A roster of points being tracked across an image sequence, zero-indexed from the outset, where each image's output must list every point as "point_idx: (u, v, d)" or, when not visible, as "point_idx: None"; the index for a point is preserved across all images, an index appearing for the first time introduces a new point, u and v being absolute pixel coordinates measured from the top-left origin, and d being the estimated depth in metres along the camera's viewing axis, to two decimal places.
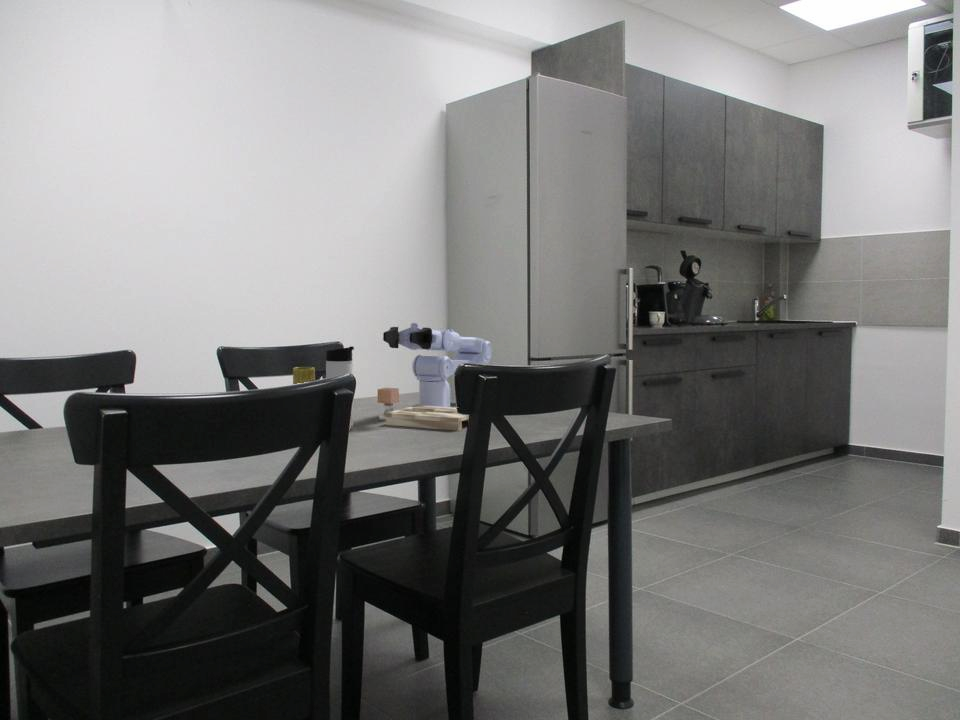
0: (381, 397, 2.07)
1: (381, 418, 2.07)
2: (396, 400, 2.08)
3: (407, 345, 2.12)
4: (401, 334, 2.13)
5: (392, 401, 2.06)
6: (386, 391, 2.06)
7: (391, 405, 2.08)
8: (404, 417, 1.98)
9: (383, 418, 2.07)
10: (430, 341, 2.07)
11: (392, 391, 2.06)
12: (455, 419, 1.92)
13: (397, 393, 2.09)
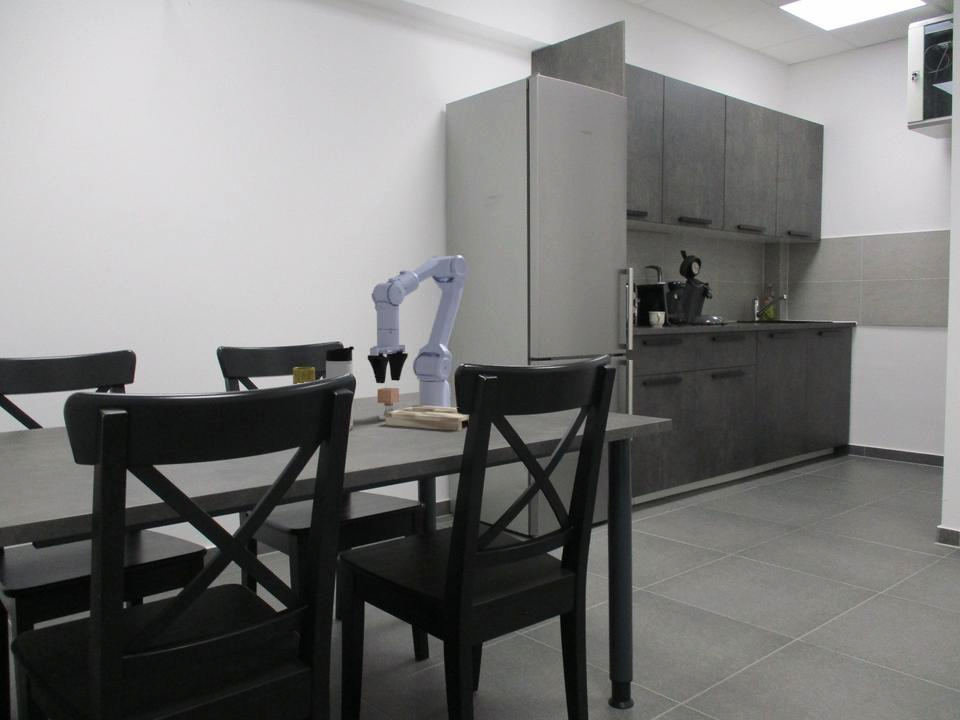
0: (381, 397, 2.07)
1: (381, 418, 2.07)
2: (396, 400, 2.08)
3: None
4: None
5: (392, 401, 2.06)
6: (386, 391, 2.06)
7: (391, 405, 2.08)
8: (404, 417, 1.98)
9: (383, 418, 2.07)
10: (378, 357, 2.02)
11: (392, 391, 2.06)
12: (455, 419, 1.92)
13: (397, 393, 2.09)
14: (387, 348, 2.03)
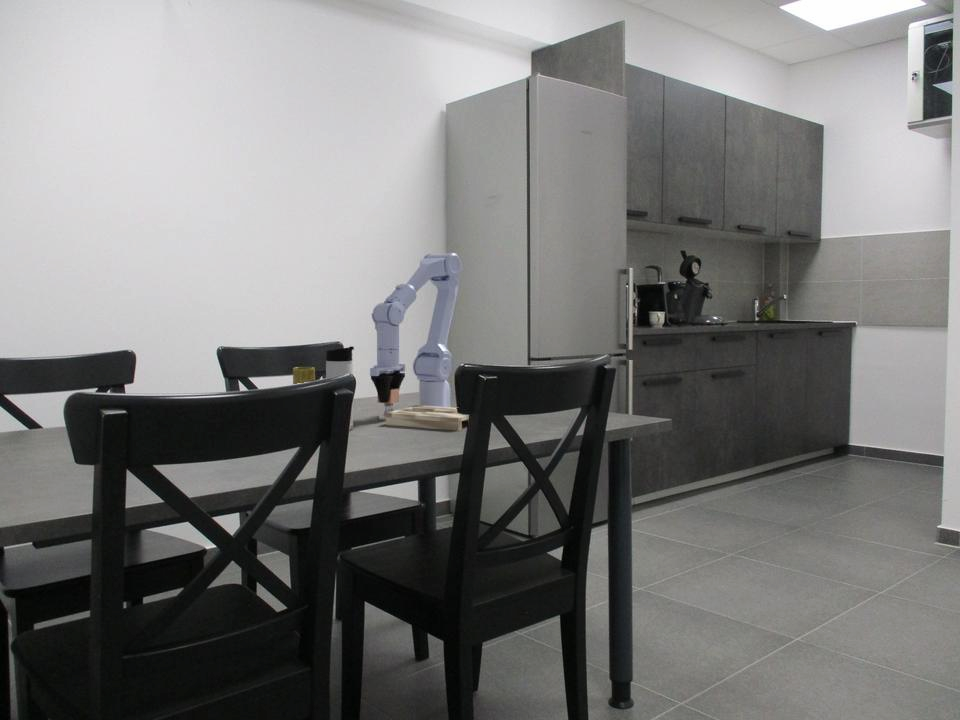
0: None
1: (381, 418, 2.07)
2: (396, 400, 2.08)
3: None
4: None
5: (392, 401, 2.06)
6: None
7: (391, 405, 2.08)
8: (404, 417, 1.98)
9: (383, 418, 2.07)
10: (381, 377, 2.03)
11: (392, 391, 2.06)
12: (455, 419, 1.92)
13: (397, 393, 2.09)
14: (387, 368, 2.04)
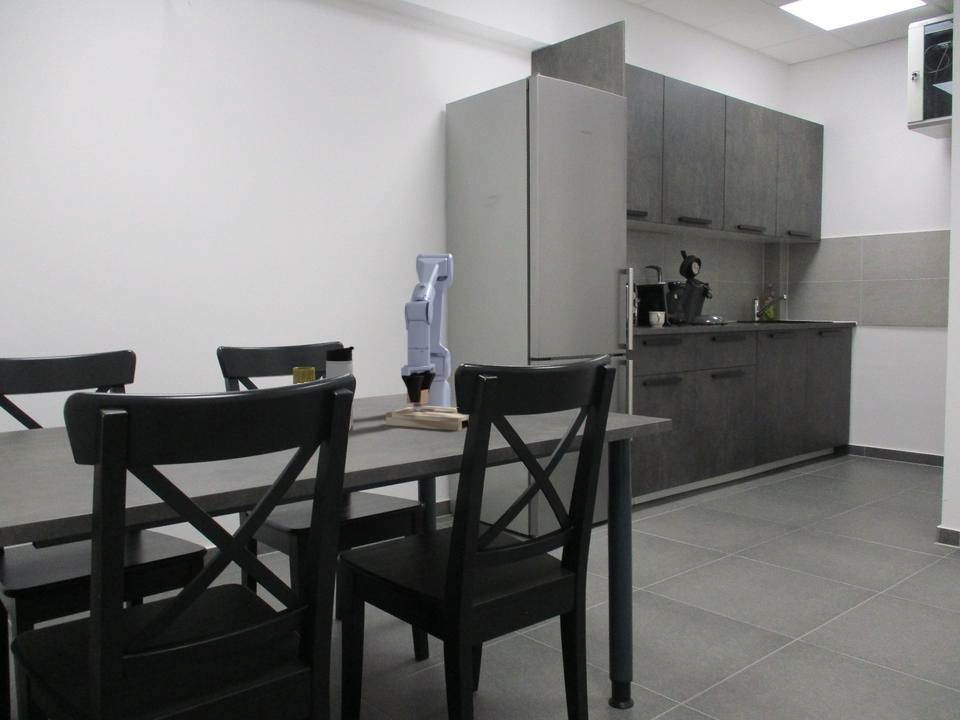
0: None
1: None
2: (426, 401, 2.05)
3: None
4: None
5: (422, 402, 2.03)
6: None
7: (420, 406, 2.04)
8: (404, 417, 1.98)
9: None
10: (412, 377, 2.00)
11: (422, 392, 2.03)
12: (455, 419, 1.92)
13: (427, 394, 2.05)
14: (418, 368, 2.00)
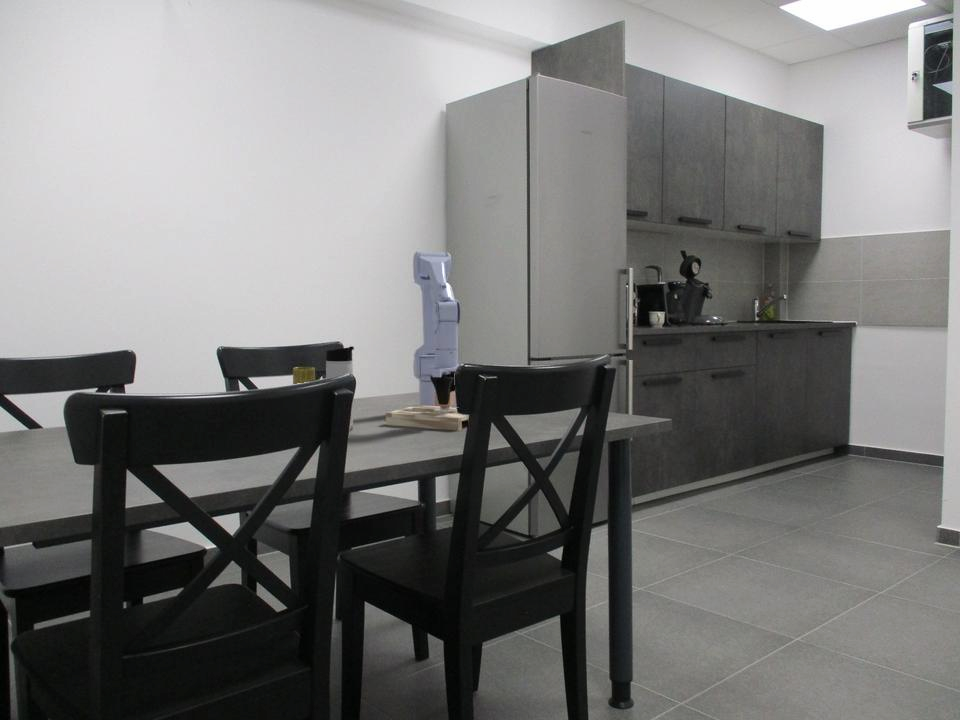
0: None
1: None
2: (453, 403, 2.02)
3: None
4: None
5: (450, 404, 2.00)
6: None
7: (448, 408, 2.01)
8: (404, 417, 1.98)
9: None
10: (443, 378, 1.96)
11: (451, 393, 2.00)
12: (455, 419, 1.92)
13: (454, 395, 2.02)
14: (449, 369, 1.97)
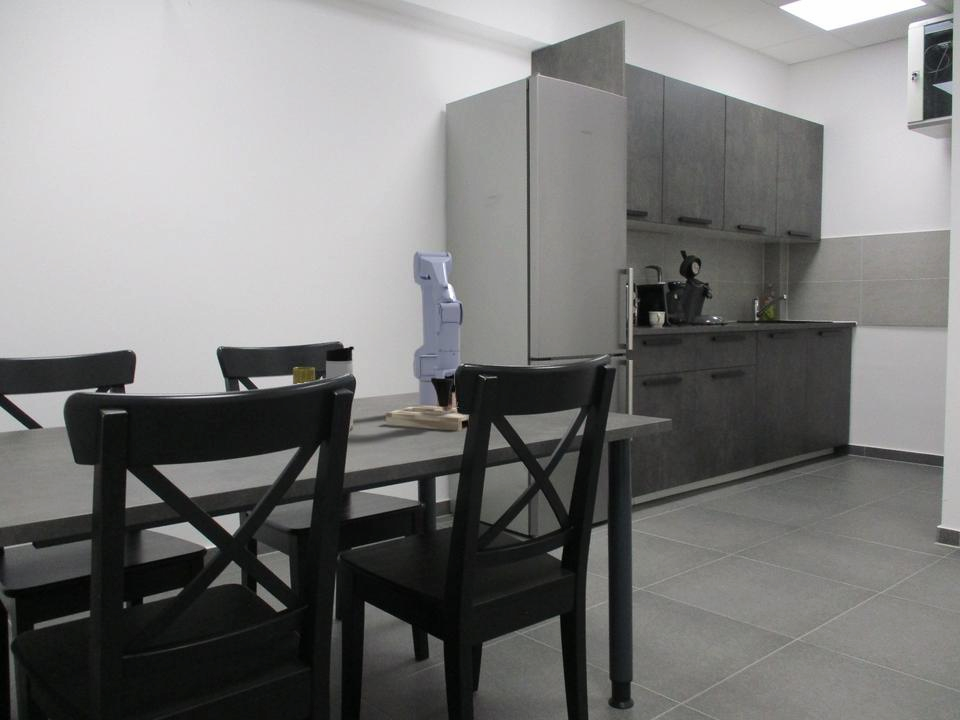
0: None
1: None
2: (455, 404, 2.02)
3: None
4: None
5: (453, 405, 2.00)
6: None
7: (451, 409, 2.01)
8: (404, 417, 1.98)
9: None
10: (444, 380, 1.95)
11: (453, 395, 1.99)
12: (455, 419, 1.92)
13: None
14: (451, 370, 1.97)
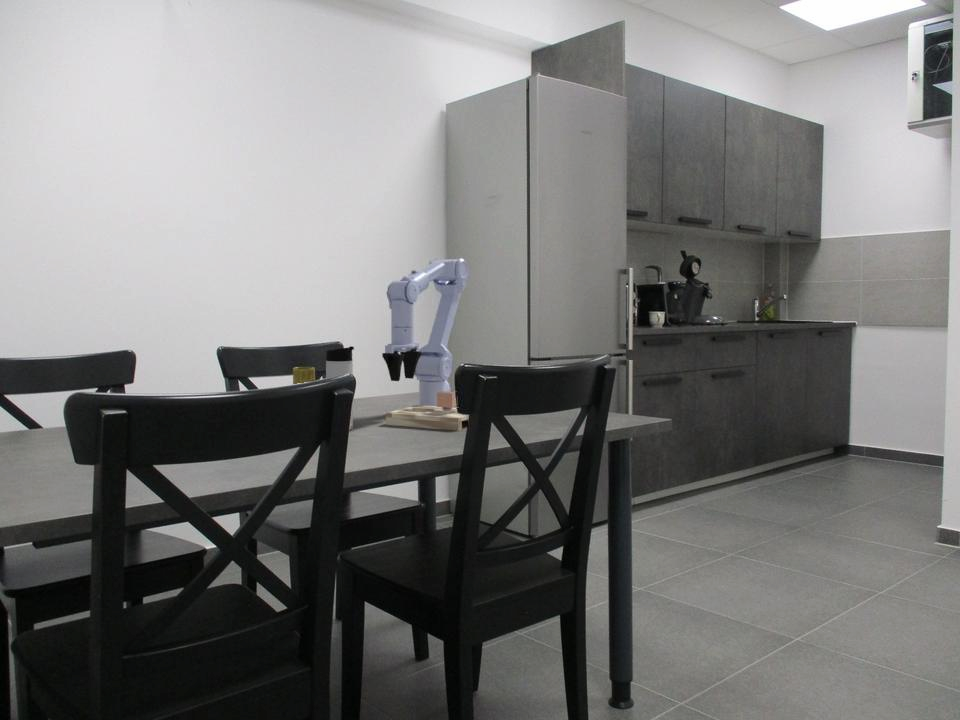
0: (441, 401, 2.00)
1: None
2: (455, 404, 2.02)
3: None
4: None
5: (453, 405, 2.00)
6: (447, 395, 1.99)
7: (450, 409, 2.01)
8: (404, 417, 1.98)
9: None
10: (393, 355, 2.02)
11: (453, 395, 1.99)
12: (455, 419, 1.92)
13: None
14: (402, 346, 2.03)
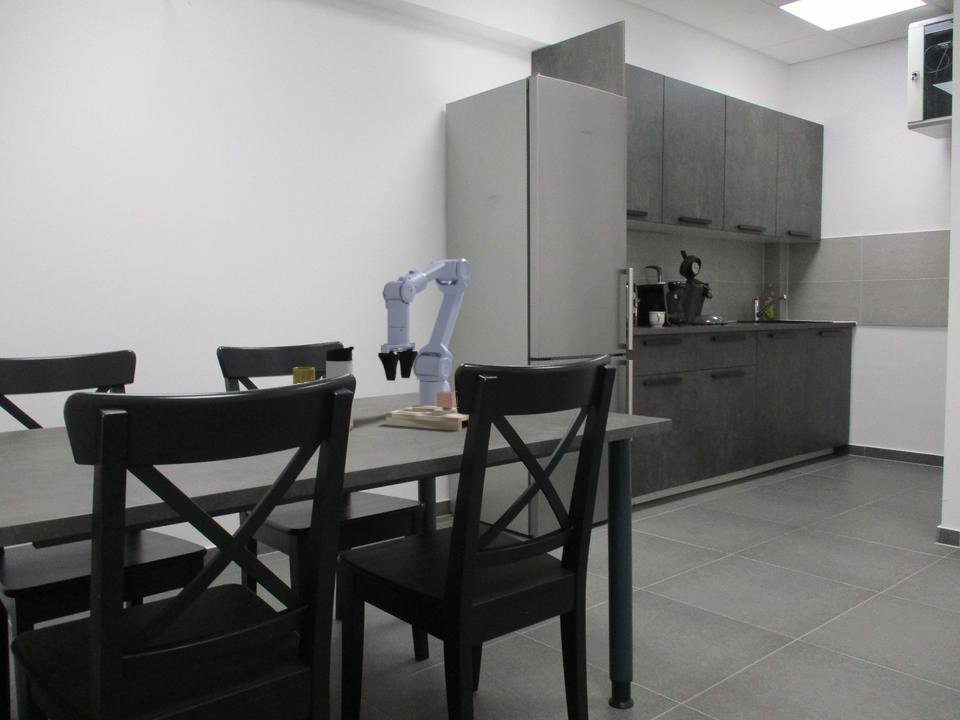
0: (441, 401, 2.00)
1: None
2: (455, 404, 2.02)
3: None
4: None
5: (453, 405, 2.00)
6: (447, 395, 1.99)
7: (450, 409, 2.01)
8: (404, 417, 1.98)
9: None
10: (389, 355, 2.03)
11: (453, 395, 1.99)
12: (455, 419, 1.92)
13: None
14: (398, 346, 2.04)
